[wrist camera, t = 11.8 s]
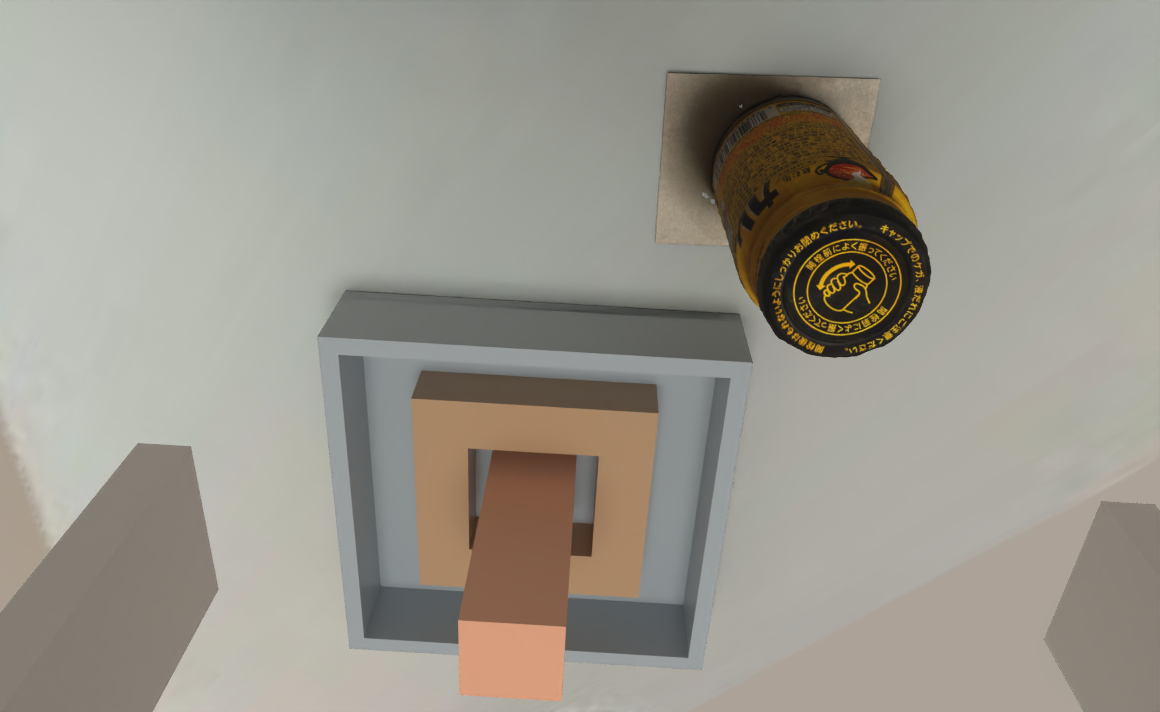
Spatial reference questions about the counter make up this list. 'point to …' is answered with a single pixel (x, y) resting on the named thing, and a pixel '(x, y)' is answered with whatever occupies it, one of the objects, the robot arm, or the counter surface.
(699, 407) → the tray box
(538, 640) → the peg
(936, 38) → the counter surface
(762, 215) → the condiment
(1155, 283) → the counter surface
